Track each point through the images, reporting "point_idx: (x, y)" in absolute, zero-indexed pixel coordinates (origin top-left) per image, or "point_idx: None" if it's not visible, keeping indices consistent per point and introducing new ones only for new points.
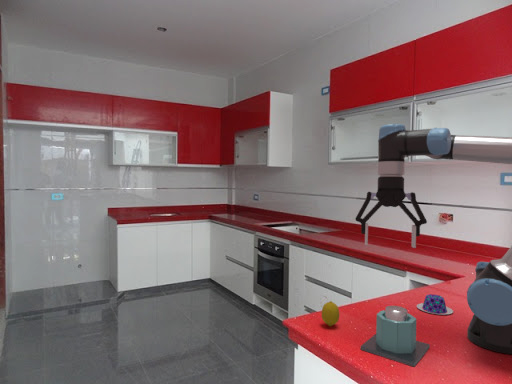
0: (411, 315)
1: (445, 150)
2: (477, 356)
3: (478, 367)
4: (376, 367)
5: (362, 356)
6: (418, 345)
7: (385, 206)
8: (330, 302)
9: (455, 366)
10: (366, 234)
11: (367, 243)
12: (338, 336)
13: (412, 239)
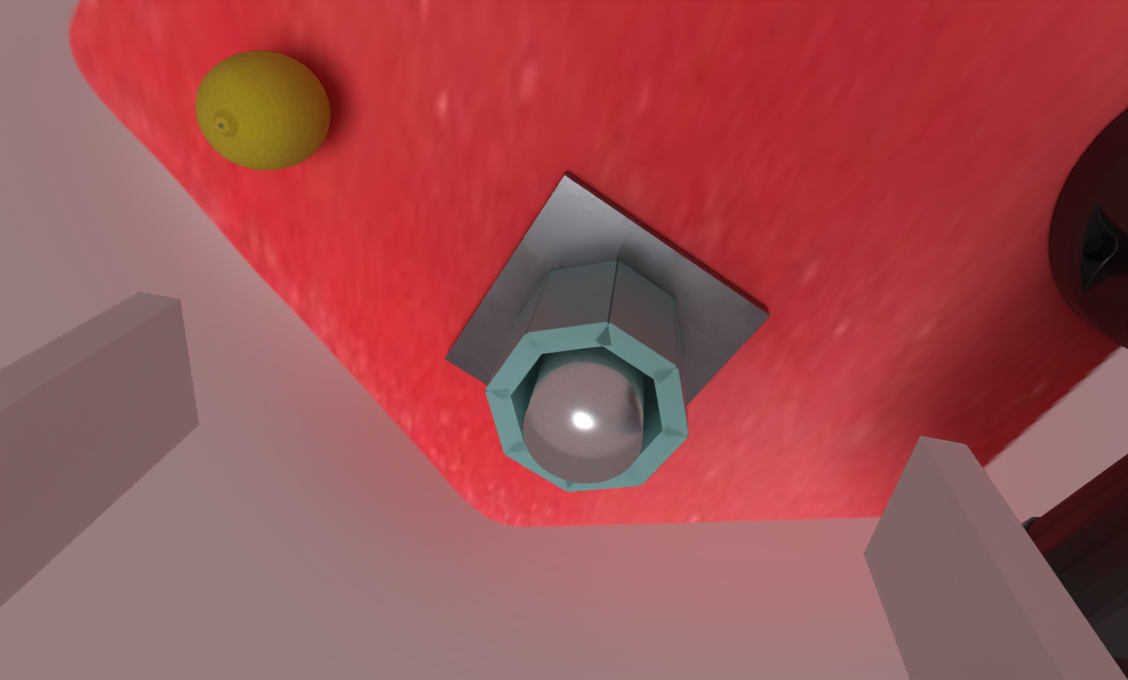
0: (679, 395)
1: None
2: (952, 367)
3: (881, 450)
4: (491, 468)
5: (451, 402)
6: (707, 332)
7: None
8: (223, 134)
9: (790, 448)
10: (37, 545)
11: (176, 440)
12: (356, 230)
13: (934, 613)
